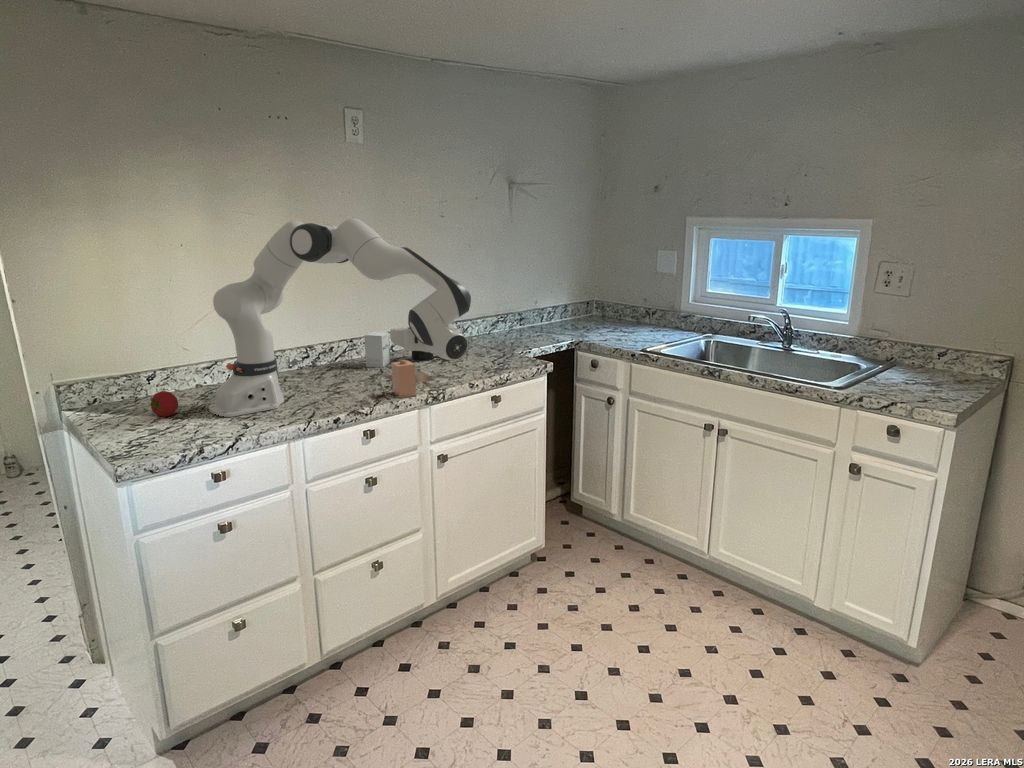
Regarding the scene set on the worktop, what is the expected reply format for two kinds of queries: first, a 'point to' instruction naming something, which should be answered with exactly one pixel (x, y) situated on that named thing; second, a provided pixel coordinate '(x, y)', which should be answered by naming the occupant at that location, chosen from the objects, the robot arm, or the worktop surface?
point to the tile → (421, 377)
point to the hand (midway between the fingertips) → (414, 328)
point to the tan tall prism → (404, 379)
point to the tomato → (164, 404)
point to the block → (416, 372)
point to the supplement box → (377, 349)
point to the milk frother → (422, 356)
